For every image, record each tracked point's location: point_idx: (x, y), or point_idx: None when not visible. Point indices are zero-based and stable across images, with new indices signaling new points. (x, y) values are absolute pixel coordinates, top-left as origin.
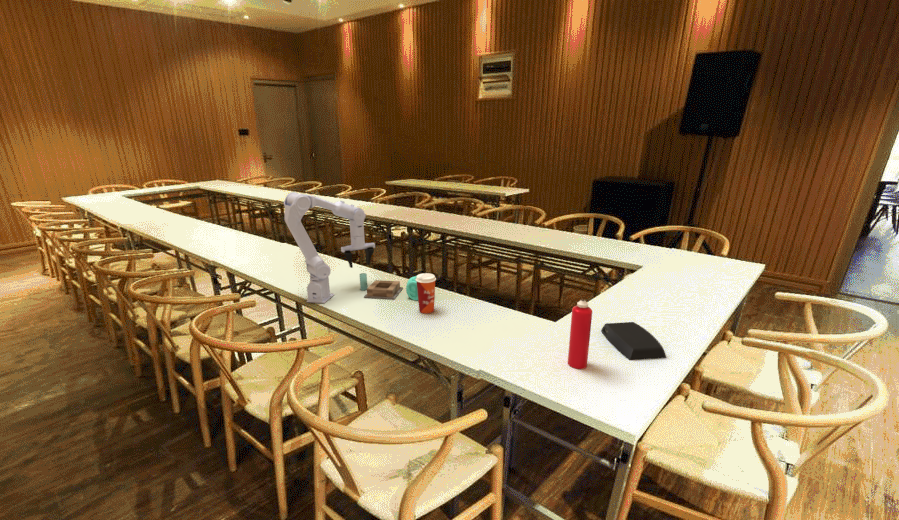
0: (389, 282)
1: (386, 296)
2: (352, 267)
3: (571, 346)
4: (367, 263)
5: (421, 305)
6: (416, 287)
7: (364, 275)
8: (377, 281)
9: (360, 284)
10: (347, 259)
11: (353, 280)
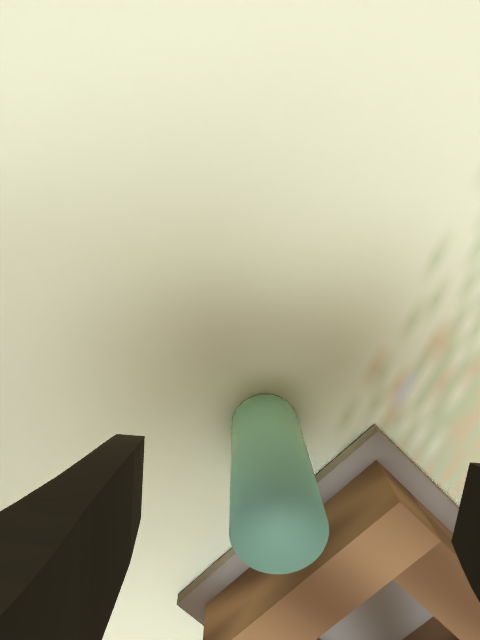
0: (472, 635)
1: None
2: (138, 521)
3: None
4: (469, 525)
5: None
6: None
7: (277, 569)
8: (395, 547)
9: (231, 454)
10: (6, 525)
11: (291, 93)
